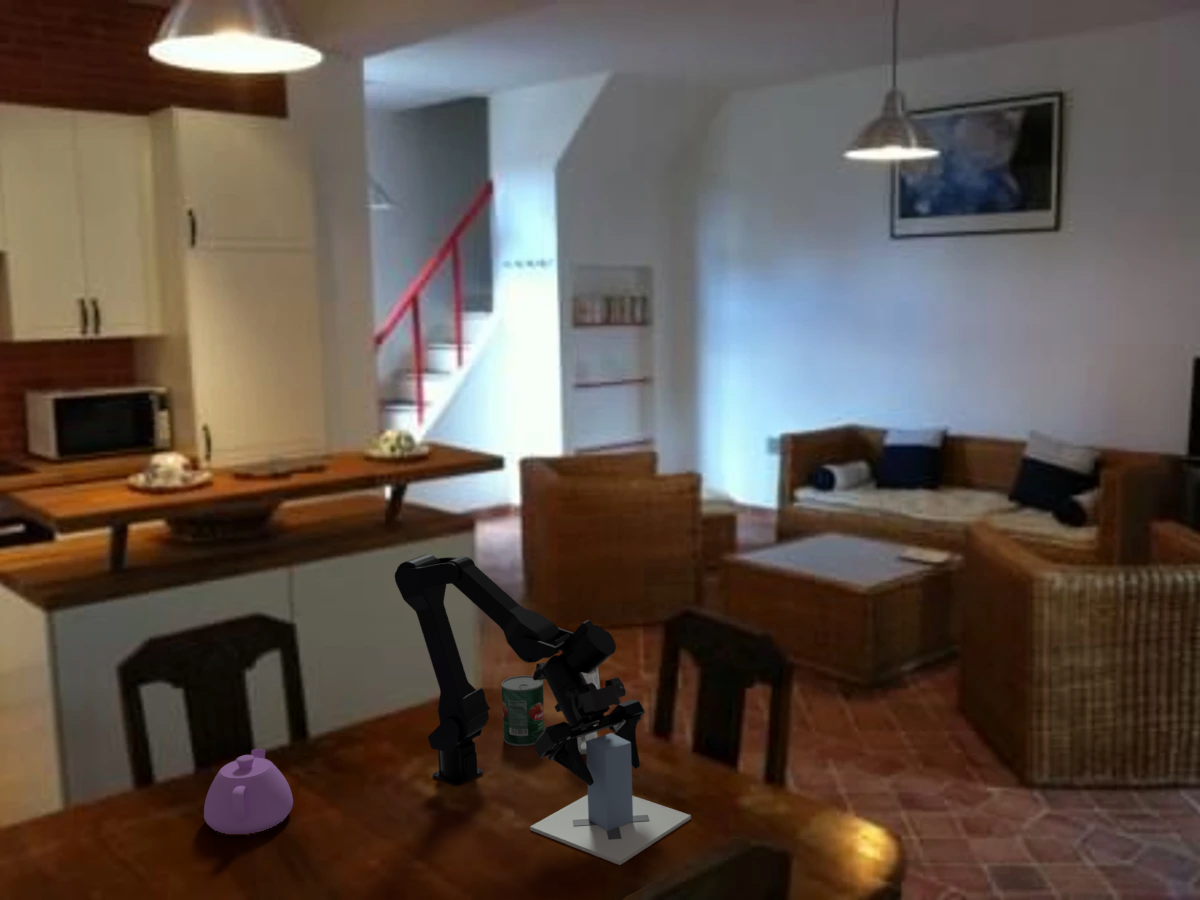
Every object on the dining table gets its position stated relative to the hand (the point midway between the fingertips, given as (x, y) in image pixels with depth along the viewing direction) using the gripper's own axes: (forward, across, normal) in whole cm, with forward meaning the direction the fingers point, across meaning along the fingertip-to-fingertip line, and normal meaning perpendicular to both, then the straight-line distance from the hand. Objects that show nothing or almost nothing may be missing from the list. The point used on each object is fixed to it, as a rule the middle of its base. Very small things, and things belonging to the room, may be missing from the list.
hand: (615, 775), depth 175 cm
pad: (+5, 0, +7) cm, 9 cm away
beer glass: (-14, +15, +26) cm, 33 cm away
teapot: (-24, -42, +36) cm, 61 cm away
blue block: (+5, 0, +6) cm, 8 cm away
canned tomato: (-21, +9, +34) cm, 41 cm away
